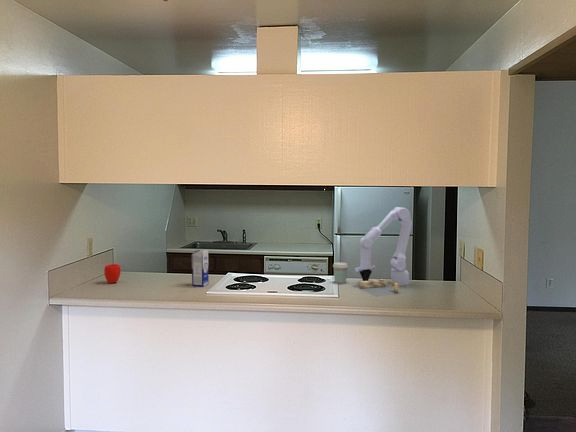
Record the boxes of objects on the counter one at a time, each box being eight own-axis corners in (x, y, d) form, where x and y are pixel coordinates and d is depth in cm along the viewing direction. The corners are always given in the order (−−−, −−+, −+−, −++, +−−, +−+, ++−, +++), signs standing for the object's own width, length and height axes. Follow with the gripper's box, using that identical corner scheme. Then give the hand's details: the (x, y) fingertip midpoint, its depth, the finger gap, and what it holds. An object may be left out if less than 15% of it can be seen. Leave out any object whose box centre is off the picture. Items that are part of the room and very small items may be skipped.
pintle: (382, 279, 247) (382, 278, 247) (384, 280, 246) (384, 279, 245) (379, 279, 247) (379, 278, 247) (380, 280, 245) (381, 279, 245)
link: (382, 284, 249) (382, 279, 249) (387, 286, 245) (387, 280, 245) (357, 286, 244) (357, 281, 243) (361, 288, 240) (361, 282, 239)
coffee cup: (350, 285, 253) (350, 264, 252) (336, 286, 250) (336, 265, 249) (343, 282, 261) (344, 261, 260) (330, 283, 258) (330, 262, 257)
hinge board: (380, 285, 253) (380, 283, 253) (406, 295, 230) (406, 293, 230) (352, 287, 247) (352, 285, 247) (376, 298, 224) (376, 296, 224)
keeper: (388, 290, 236) (388, 280, 236) (392, 290, 237) (393, 280, 236) (394, 293, 230) (395, 283, 229) (399, 293, 230) (399, 283, 230)
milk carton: (203, 287, 247) (202, 251, 246) (192, 286, 249) (191, 250, 248) (208, 284, 254) (208, 249, 253) (197, 283, 256) (197, 248, 255)
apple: (119, 284, 254) (119, 265, 253) (103, 284, 252) (102, 265, 251) (121, 280, 263) (121, 262, 262) (106, 281, 261) (105, 263, 260)
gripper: (369, 256, 256) (368, 280, 257) (351, 259, 247) (350, 283, 248) (378, 258, 250) (378, 282, 251) (360, 260, 242) (360, 285, 243)
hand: (365, 283), depth 249 cm, fingers closed
